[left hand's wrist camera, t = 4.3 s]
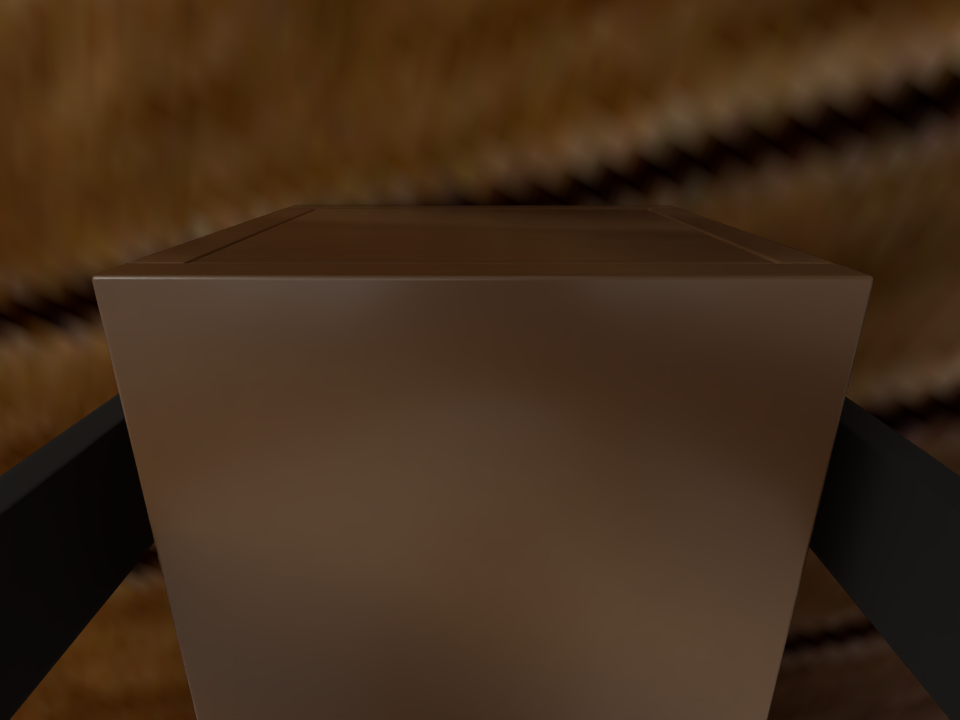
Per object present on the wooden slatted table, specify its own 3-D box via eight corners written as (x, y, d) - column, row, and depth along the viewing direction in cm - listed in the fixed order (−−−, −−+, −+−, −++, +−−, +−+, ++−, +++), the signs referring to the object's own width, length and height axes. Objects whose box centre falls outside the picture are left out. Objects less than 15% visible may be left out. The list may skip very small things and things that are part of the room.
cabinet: (610, 751, 22) (680, 1083, 15) (352, 750, 23) (282, 1081, 15) (672, 205, 15) (877, 275, 7) (291, 205, 15) (88, 275, 7)
